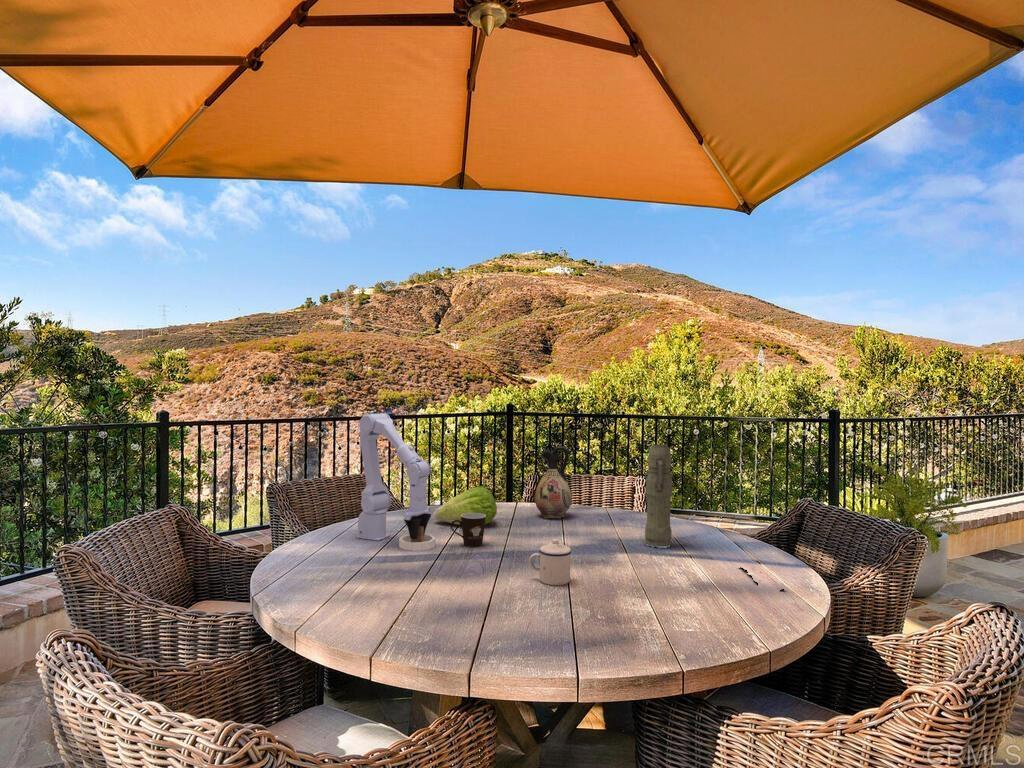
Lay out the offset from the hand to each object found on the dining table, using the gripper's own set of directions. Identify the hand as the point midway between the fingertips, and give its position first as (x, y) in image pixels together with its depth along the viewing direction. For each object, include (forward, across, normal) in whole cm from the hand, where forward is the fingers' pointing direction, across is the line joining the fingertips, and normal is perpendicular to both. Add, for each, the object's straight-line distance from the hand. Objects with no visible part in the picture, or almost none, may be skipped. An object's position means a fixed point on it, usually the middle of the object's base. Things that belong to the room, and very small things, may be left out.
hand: (417, 536), depth 200 cm
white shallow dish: (+3, 0, 0) cm, 3 cm away
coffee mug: (+3, +9, -15) cm, 18 cm away
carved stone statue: (+3, +37, -75) cm, 84 cm away
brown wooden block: (+2, 0, 0) cm, 2 cm away
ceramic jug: (+3, +62, -29) cm, 69 cm away
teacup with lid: (+3, -14, -52) cm, 54 cm away
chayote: (+3, +35, -1) cm, 35 cm away
